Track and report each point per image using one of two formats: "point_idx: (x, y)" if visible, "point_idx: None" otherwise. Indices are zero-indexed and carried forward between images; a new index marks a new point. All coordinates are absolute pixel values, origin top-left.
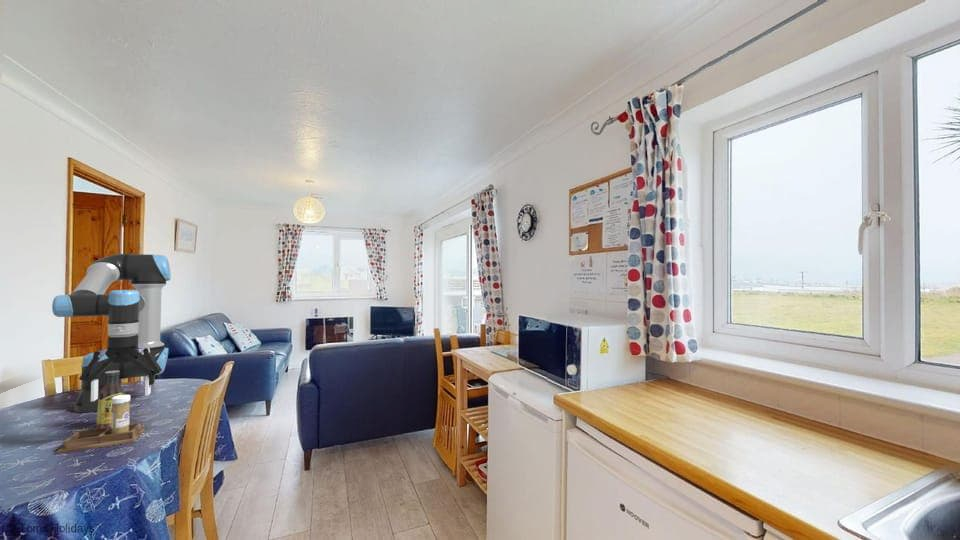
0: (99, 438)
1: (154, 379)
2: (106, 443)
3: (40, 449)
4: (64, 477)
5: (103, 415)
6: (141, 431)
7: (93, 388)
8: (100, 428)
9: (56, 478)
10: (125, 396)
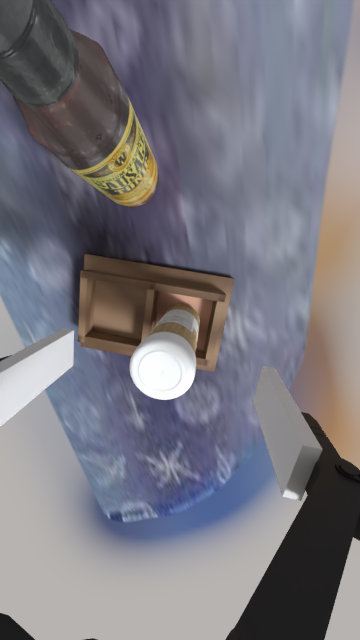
0: None
1: (326, 438)
2: None
3: (41, 288)
4: (136, 464)
5: (109, 196)
6: (225, 315)
7: (27, 401)
8: (129, 281)
9: (126, 461)
10: (178, 387)
